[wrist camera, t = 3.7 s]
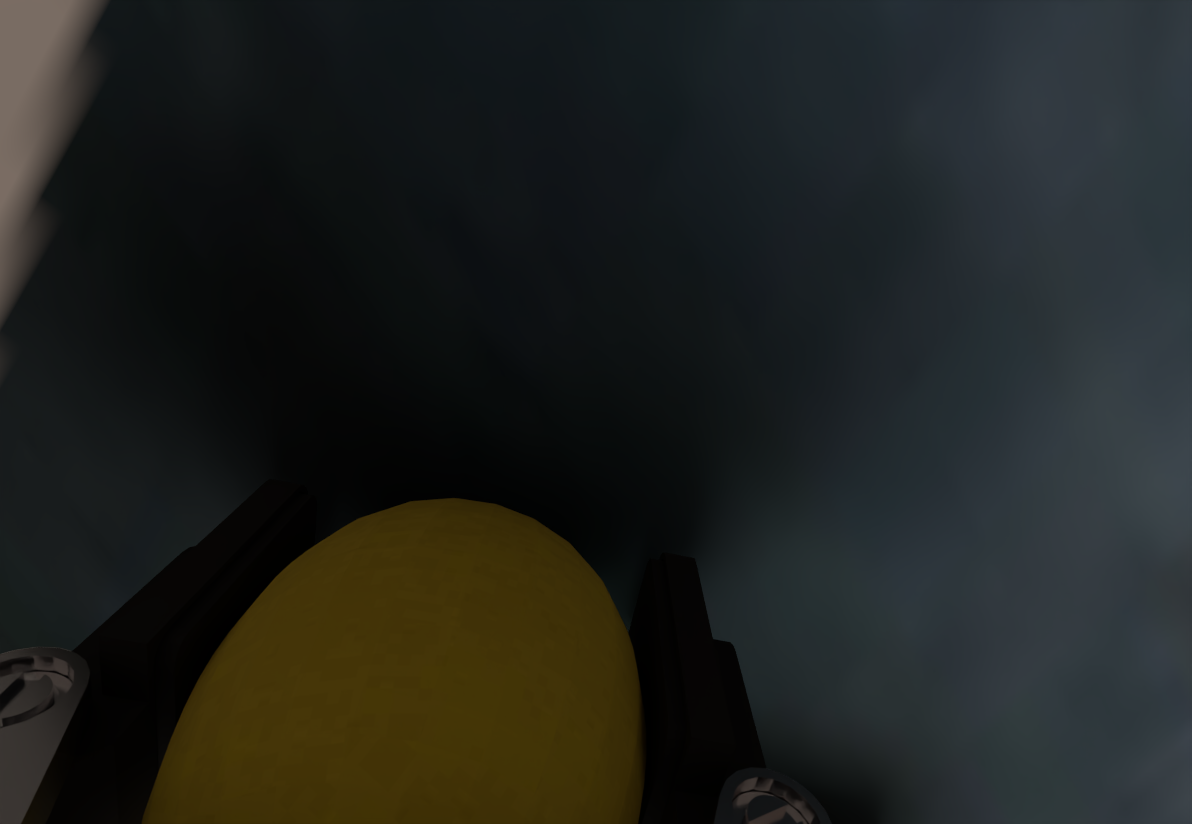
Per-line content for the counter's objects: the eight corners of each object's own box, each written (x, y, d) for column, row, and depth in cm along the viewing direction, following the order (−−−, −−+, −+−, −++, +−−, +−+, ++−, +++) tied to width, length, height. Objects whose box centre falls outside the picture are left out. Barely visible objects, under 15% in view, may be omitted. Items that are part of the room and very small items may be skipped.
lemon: (277, 568, 12) (-228, 1185, 5) (456, 356, 11) (125, 773, 3) (507, 723, 14) (383, 1408, 6) (697, 550, 12) (842, 1173, 5)
